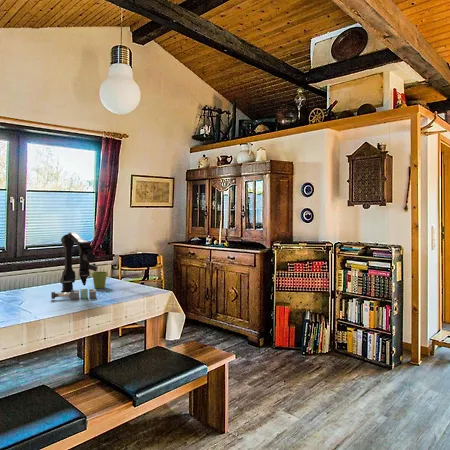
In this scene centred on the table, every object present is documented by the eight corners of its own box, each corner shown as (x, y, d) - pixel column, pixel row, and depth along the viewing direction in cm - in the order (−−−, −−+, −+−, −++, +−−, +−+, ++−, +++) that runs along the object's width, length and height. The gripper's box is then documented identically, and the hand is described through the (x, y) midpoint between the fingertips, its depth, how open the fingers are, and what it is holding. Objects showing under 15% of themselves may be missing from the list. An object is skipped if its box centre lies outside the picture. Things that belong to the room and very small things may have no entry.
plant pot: (110, 286, 294) (110, 271, 294) (102, 289, 282) (102, 274, 282) (96, 285, 296) (96, 271, 296) (88, 288, 285) (88, 273, 284)
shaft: (51, 299, 247) (51, 292, 247) (51, 298, 251) (51, 291, 251) (78, 297, 253) (78, 291, 253) (78, 296, 257) (78, 289, 257)
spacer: (80, 299, 253) (80, 290, 252) (80, 297, 258) (80, 289, 258) (87, 298, 254) (87, 290, 254) (87, 296, 260) (87, 288, 260)
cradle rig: (70, 300, 250) (70, 292, 249) (70, 297, 257) (70, 290, 257) (95, 298, 255) (95, 291, 255) (95, 295, 263) (95, 288, 262)
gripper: (97, 262, 249) (97, 286, 250) (96, 258, 267) (96, 280, 267) (79, 262, 245) (79, 287, 246) (79, 259, 263) (79, 281, 263)
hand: (84, 284), depth 256 cm, fingers open, 9 cm apart
